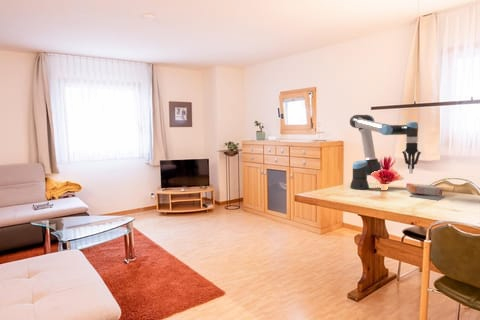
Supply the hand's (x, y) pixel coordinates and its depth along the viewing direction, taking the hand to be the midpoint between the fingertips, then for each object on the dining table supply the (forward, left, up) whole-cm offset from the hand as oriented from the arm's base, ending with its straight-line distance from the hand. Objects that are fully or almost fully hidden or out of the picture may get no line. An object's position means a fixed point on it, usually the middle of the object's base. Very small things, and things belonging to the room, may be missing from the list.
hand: (410, 173), depth 242 cm
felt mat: (+12, 0, -17) cm, 20 cm away
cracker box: (-1, +3, -12) cm, 12 cm away
